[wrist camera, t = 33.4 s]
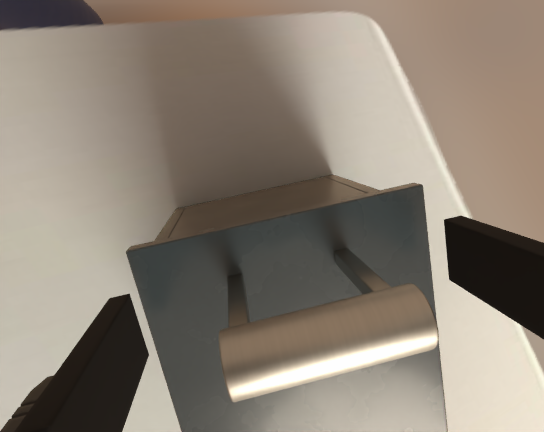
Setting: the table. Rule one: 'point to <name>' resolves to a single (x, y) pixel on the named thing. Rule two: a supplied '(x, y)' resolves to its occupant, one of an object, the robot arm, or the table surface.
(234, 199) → the trash can
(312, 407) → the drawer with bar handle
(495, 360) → the table surface
